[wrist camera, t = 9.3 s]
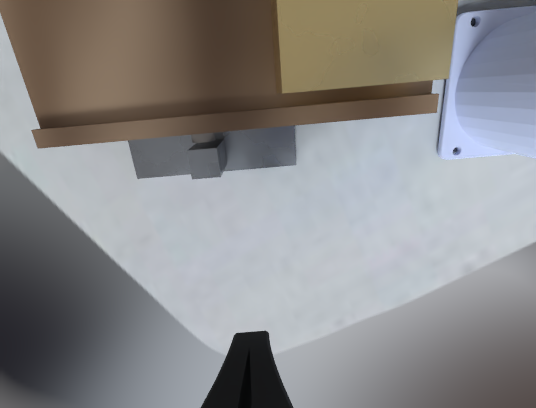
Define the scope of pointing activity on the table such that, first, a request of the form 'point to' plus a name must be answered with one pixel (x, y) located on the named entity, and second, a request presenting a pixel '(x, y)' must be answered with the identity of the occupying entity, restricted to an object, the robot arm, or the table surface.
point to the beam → (171, 72)
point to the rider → (360, 42)
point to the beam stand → (214, 153)
